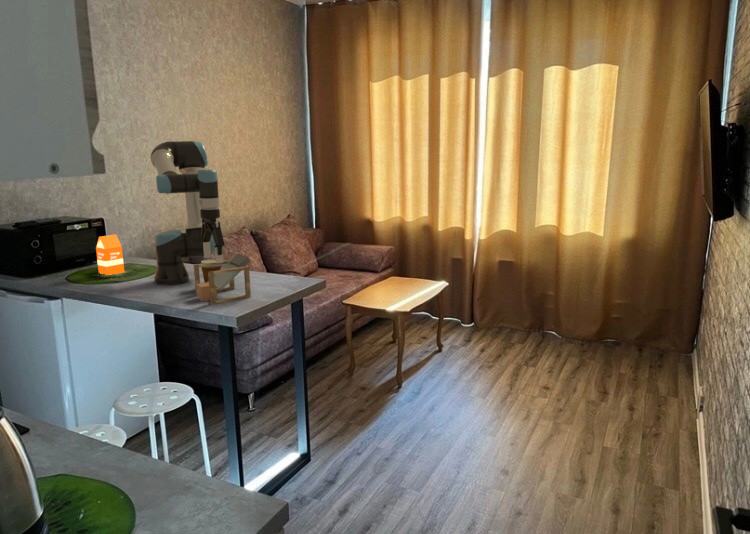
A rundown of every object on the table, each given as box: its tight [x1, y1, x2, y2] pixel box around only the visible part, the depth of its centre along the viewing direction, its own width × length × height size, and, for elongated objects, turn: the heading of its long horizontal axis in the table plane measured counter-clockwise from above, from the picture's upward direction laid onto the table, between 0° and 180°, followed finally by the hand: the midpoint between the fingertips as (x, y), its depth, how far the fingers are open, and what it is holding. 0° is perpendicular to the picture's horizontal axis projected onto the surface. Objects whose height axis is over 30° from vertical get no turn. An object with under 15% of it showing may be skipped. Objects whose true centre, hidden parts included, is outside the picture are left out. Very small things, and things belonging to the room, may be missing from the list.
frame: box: [193, 259, 252, 305], centre depth 234 cm, size 19×17×13 cm
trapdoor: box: [208, 253, 251, 290], centre depth 235 cm, size 15×18×2 cm
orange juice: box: [95, 233, 125, 275], centre depth 271 cm, size 8×9×20 cm
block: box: [196, 282, 218, 302], centre depth 231 cm, size 6×6×6 cm
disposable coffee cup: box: [200, 258, 223, 283], centre depth 249 cm, size 10×10×12 cm
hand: (213, 260), depth 230 cm, fingers open, 13 cm apart
